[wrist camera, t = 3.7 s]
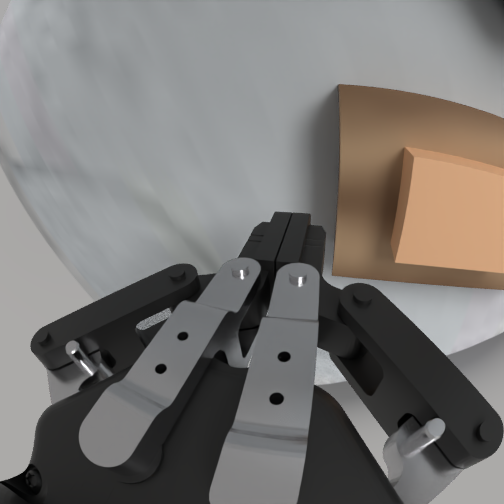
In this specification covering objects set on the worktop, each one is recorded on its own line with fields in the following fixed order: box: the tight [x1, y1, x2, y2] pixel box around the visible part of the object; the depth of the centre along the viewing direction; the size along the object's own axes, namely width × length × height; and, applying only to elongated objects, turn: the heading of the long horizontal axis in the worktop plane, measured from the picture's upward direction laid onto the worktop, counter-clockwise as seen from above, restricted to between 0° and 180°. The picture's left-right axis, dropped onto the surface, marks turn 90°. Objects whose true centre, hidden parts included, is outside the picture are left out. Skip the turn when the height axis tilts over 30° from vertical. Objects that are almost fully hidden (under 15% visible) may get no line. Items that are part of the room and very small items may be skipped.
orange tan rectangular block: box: [391, 147, 504, 273], centre depth 11 cm, size 6×9×2 cm, turn 95°
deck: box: [332, 84, 504, 290], centre depth 13 cm, size 12×20×4 cm, turn 95°
